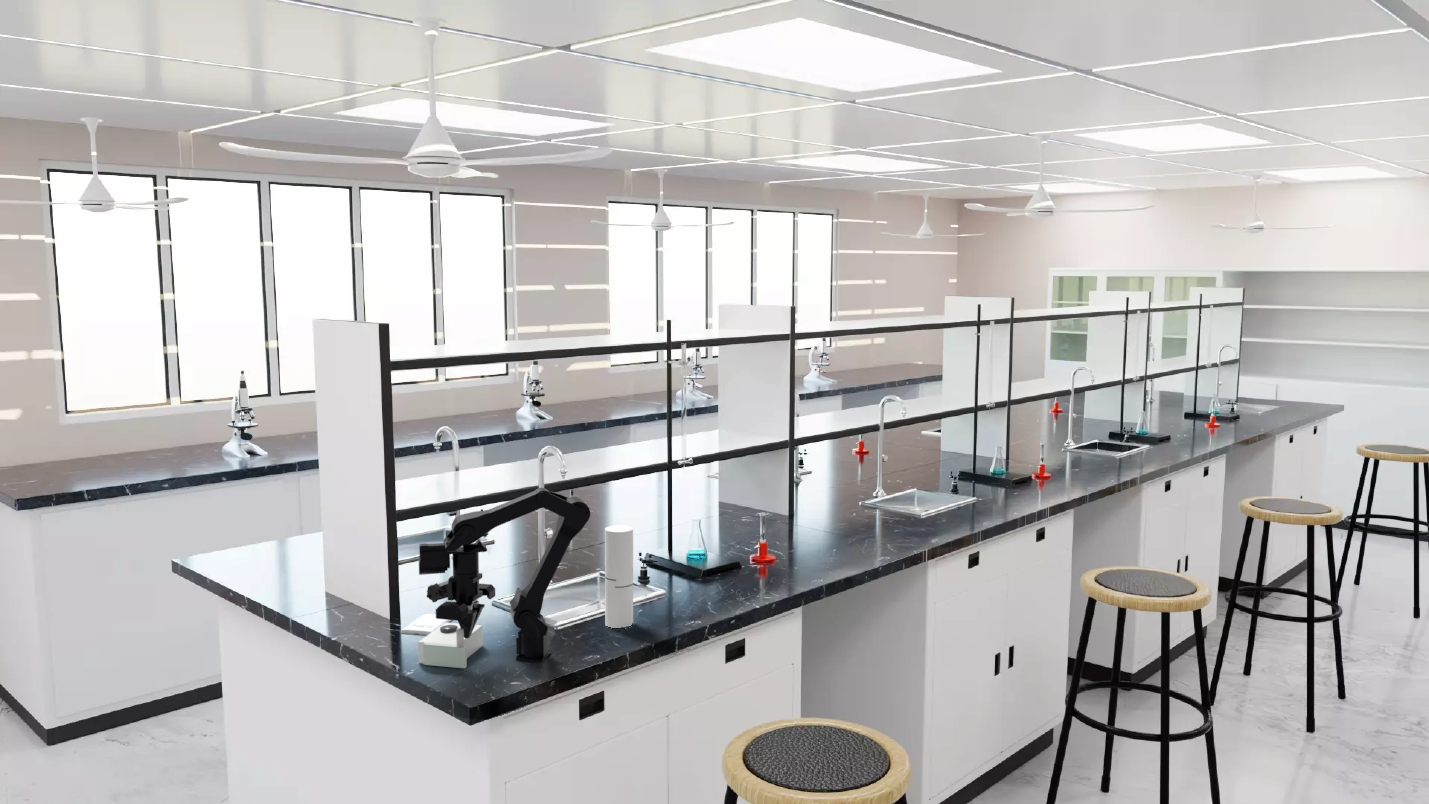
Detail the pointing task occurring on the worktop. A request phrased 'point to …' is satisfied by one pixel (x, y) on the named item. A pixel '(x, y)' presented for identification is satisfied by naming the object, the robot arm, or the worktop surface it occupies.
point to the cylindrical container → (618, 576)
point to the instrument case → (452, 639)
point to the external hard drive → (424, 625)
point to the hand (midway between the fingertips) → (467, 637)
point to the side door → (446, 653)
